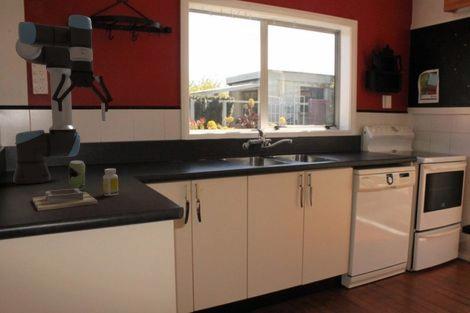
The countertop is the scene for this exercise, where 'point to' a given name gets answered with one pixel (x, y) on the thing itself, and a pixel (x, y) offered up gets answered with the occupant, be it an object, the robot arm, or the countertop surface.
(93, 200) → the socket board
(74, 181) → the beverage can
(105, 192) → the supplement bottle
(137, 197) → the countertop surface
